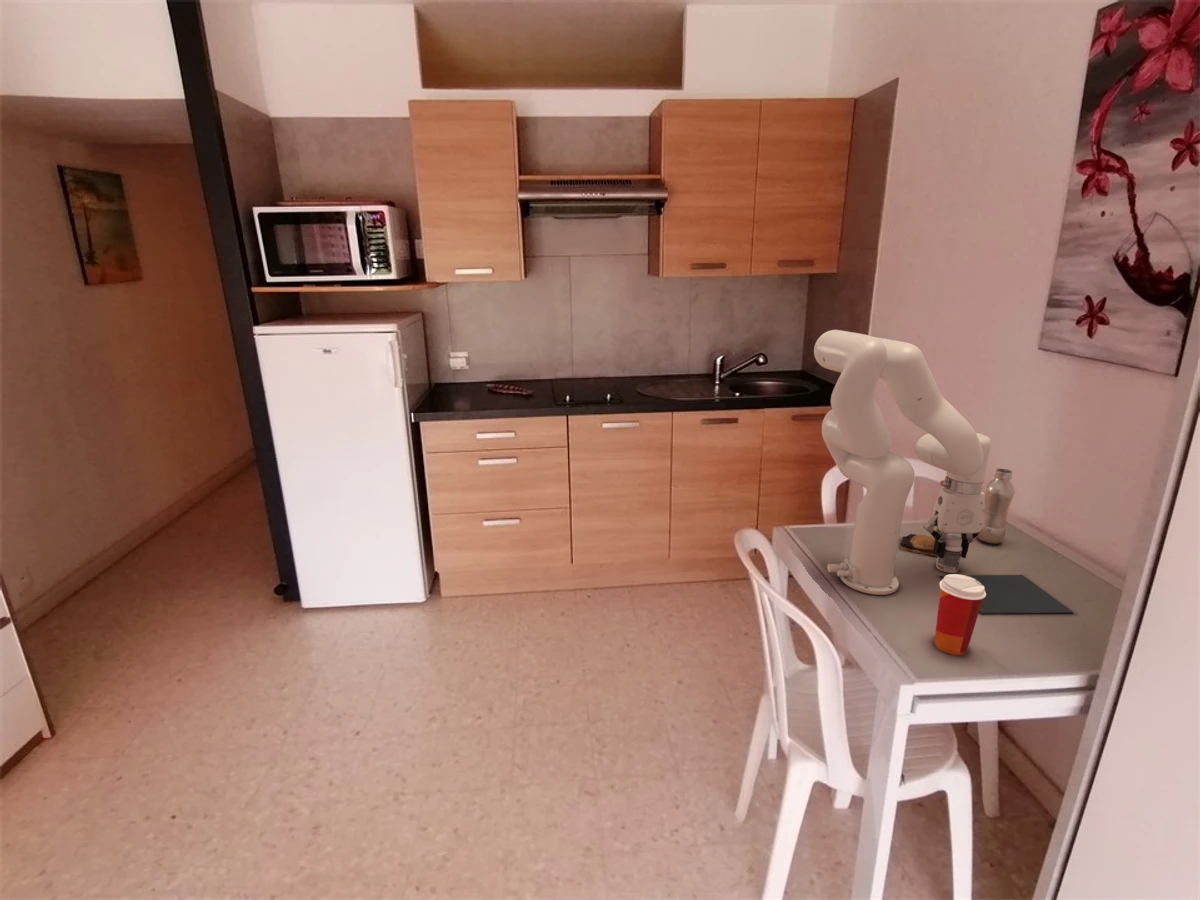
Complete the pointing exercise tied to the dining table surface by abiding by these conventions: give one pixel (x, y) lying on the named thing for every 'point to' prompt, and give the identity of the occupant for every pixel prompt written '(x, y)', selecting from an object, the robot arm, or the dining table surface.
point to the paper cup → (957, 612)
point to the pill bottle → (950, 554)
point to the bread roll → (918, 544)
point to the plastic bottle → (997, 506)
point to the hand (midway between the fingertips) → (949, 554)
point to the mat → (1016, 596)
